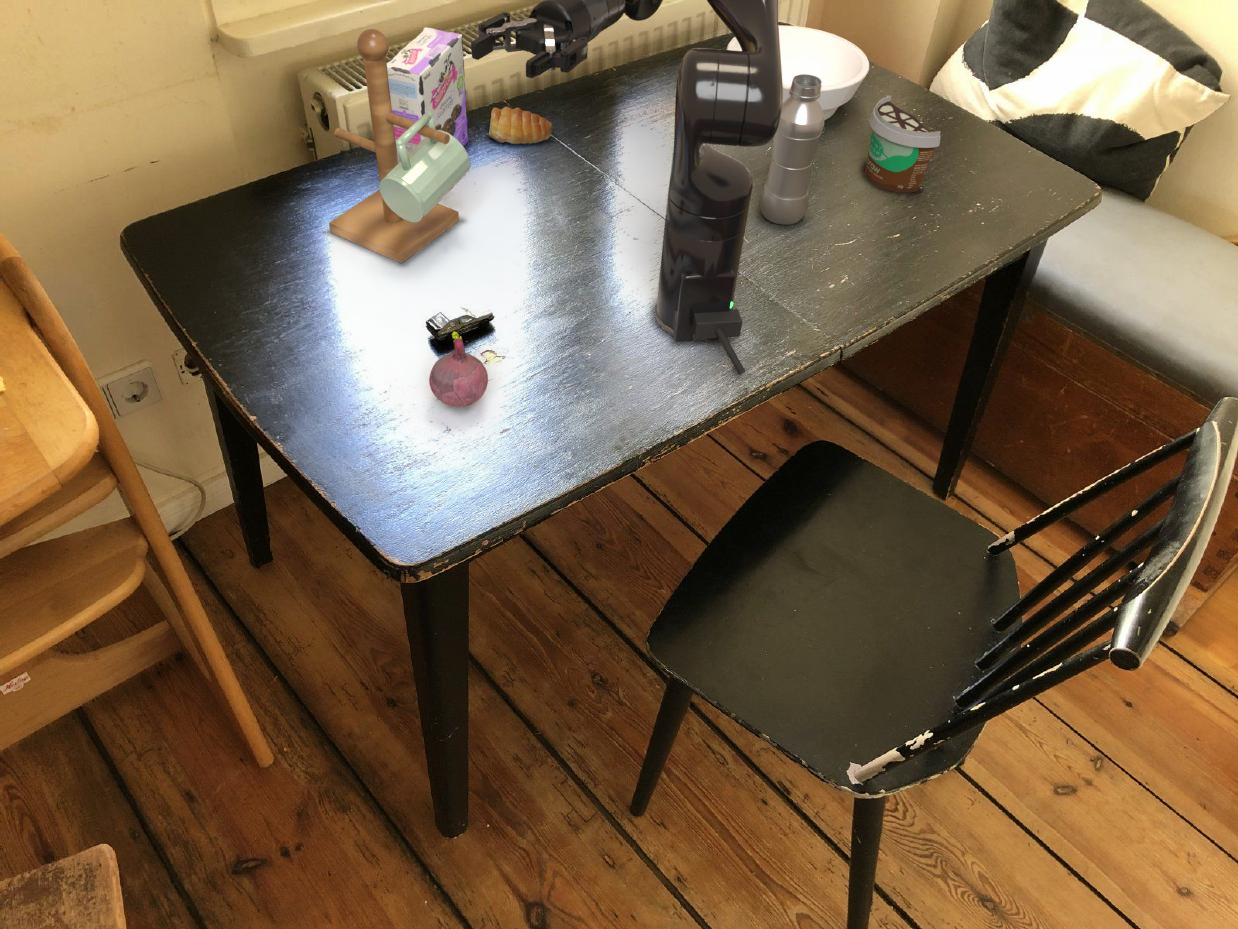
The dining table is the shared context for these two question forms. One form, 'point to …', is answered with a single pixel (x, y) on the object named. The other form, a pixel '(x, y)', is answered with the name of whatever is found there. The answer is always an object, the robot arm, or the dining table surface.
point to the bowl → (820, 63)
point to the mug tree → (386, 170)
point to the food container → (898, 148)
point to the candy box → (430, 84)
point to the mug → (423, 173)
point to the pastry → (518, 126)
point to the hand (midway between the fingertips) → (500, 61)
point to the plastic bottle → (793, 152)
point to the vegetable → (458, 377)
